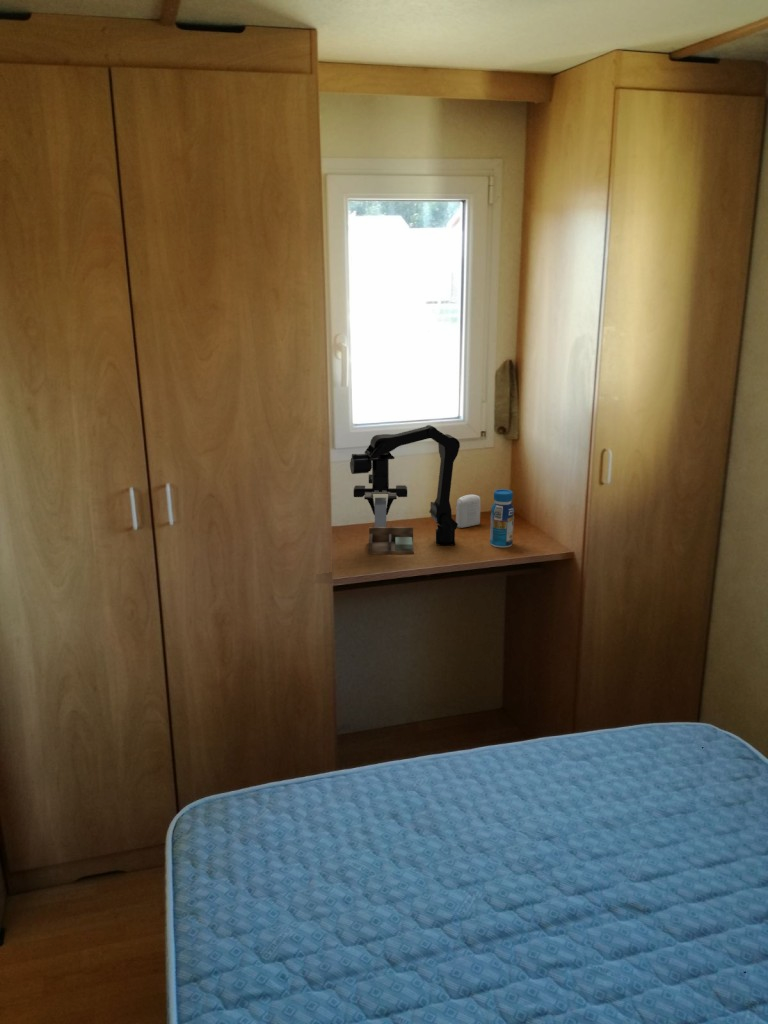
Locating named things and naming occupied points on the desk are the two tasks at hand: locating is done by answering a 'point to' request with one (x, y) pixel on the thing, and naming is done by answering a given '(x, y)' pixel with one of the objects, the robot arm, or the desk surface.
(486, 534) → the desk surface
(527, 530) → the desk surface
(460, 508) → the photo printer
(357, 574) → the desk surface
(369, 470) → the robot arm
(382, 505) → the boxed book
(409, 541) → the book rack
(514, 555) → the desk surface
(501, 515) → the beverage bottle
